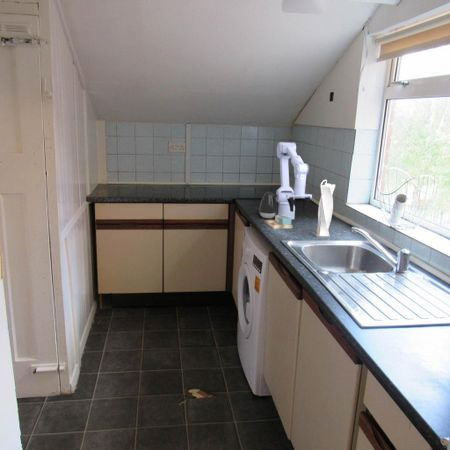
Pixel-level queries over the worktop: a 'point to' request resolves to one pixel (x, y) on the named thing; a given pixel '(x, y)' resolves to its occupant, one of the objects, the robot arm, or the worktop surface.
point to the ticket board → (277, 223)
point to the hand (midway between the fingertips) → (297, 211)
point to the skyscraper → (325, 210)
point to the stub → (285, 220)
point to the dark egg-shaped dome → (268, 205)
